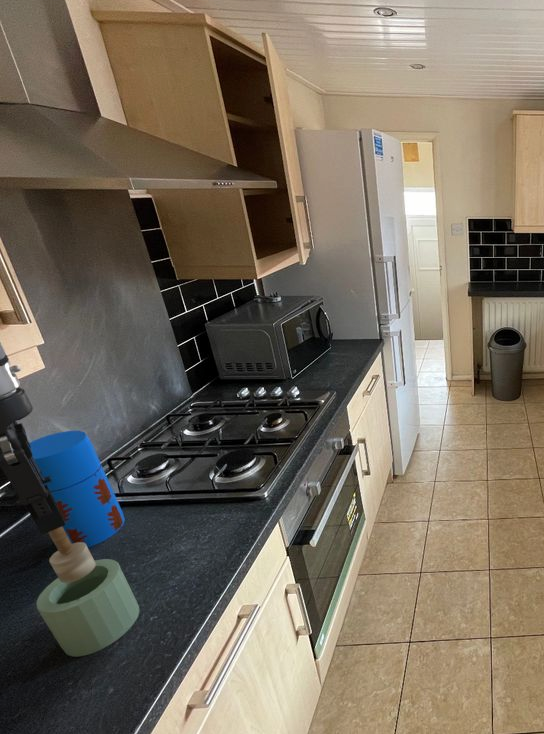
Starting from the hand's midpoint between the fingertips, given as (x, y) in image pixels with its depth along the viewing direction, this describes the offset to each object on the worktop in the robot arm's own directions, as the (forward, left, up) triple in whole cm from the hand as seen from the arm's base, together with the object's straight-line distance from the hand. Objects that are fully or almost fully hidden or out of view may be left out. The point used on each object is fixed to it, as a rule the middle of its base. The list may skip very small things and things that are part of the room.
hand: (52, 525), depth 67 cm
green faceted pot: (0, 0, -24) cm, 24 cm away
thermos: (+2, +29, -24) cm, 37 cm away
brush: (0, 0, -10) cm, 10 cm away
